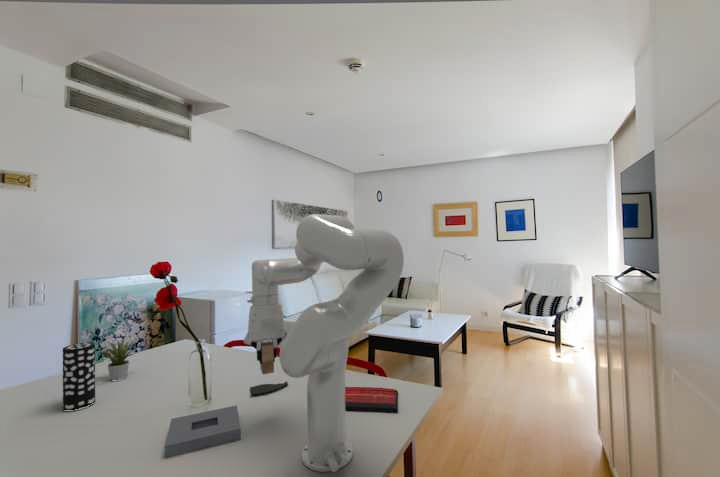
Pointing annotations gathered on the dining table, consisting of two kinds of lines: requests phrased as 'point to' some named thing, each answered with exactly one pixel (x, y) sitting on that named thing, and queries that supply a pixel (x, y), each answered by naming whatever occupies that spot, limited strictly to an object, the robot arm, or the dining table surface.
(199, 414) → the socket plate
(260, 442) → the dining table surface
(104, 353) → the house plant
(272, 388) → the curved wedge
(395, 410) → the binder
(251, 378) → the dining table surface
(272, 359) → the keyed peg
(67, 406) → the spotted tube
